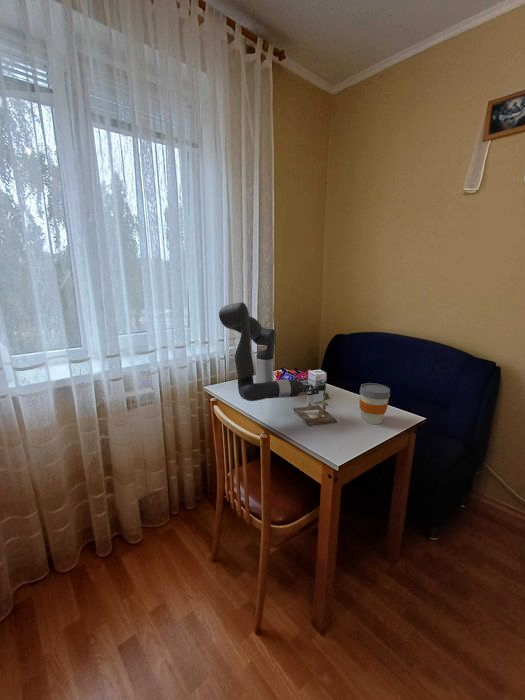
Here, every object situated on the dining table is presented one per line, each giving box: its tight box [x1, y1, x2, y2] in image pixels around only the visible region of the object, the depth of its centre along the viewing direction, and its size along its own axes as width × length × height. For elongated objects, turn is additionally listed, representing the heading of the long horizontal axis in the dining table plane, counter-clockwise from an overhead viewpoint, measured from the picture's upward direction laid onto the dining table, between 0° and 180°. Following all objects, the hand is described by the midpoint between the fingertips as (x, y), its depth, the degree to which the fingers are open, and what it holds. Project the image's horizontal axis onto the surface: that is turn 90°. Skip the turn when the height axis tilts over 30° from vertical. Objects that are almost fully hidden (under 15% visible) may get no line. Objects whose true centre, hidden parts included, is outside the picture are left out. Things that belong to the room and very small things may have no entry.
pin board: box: [293, 402, 338, 427], centre depth 142 cm, size 16×13×6 cm
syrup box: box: [306, 369, 327, 406], centre depth 139 cm, size 6×6×14 cm
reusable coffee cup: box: [358, 382, 391, 425], centre depth 139 cm, size 13×13×15 cm
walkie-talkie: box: [305, 391, 329, 406], centre depth 163 cm, size 9×4×20 cm
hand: (321, 385), depth 139 cm, fingers closed on syrup box, 6 cm apart
